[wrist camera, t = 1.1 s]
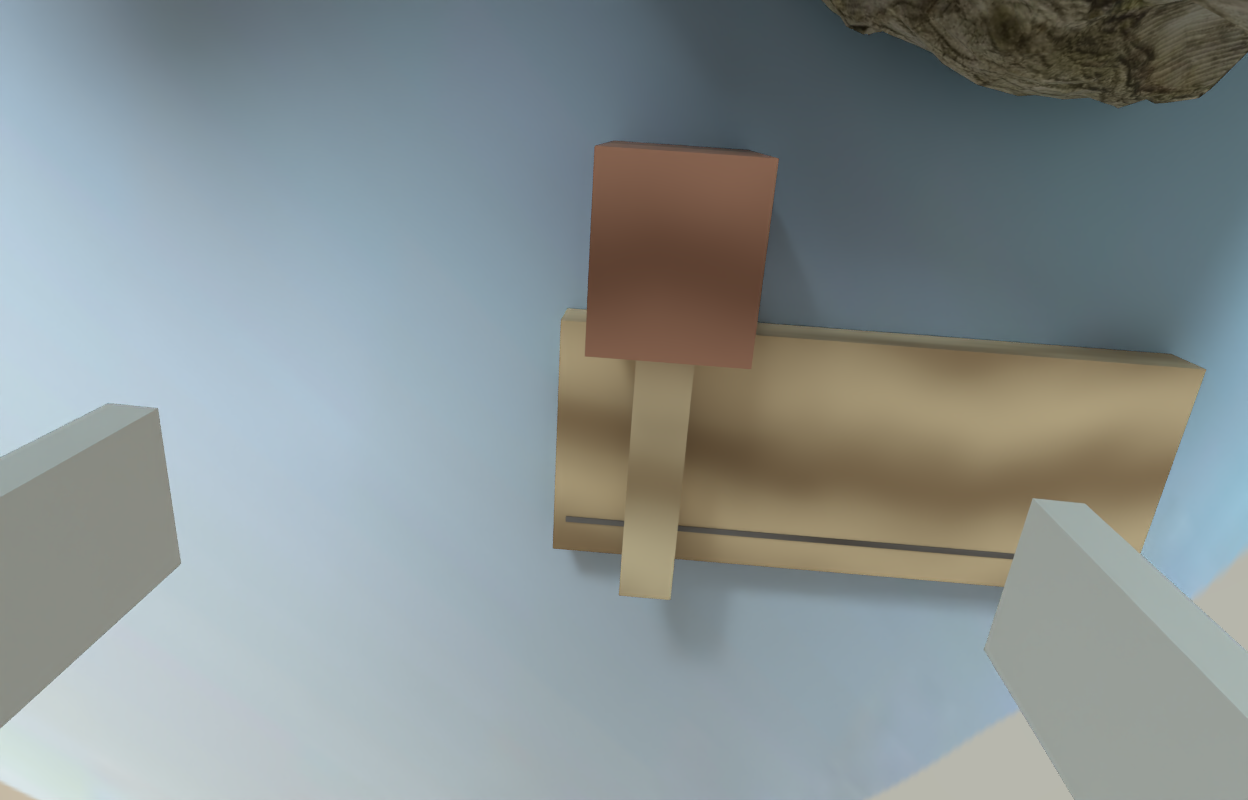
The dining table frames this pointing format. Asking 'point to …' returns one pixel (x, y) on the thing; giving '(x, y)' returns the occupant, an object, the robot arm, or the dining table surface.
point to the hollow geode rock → (1070, 43)
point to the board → (878, 448)
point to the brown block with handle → (672, 309)
